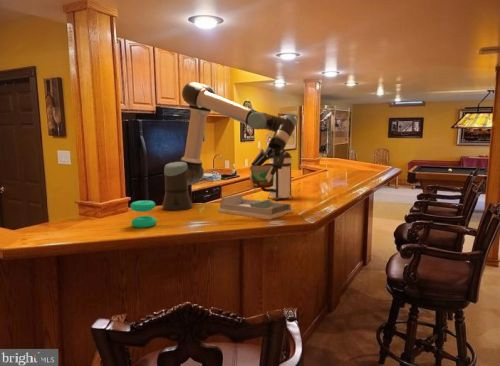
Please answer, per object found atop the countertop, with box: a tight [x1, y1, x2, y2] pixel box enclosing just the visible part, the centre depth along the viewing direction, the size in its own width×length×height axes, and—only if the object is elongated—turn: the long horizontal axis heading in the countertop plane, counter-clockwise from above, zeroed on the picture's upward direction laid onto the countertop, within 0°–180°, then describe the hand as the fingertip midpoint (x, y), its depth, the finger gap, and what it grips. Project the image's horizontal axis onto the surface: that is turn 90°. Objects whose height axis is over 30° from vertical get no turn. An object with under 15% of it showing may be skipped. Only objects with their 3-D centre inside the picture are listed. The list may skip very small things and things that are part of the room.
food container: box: [249, 165, 274, 189], centre depth 167 cm, size 12×6×10 cm, turn 111°
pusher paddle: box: [250, 198, 271, 208], centre depth 178 cm, size 6×14×4 cm, turn 142°
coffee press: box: [260, 151, 294, 202], centre depth 211 cm, size 17×16×30 cm
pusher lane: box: [217, 193, 294, 220], centre depth 178 cm, size 30×20×6 cm, turn 52°
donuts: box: [129, 199, 157, 229], centre depth 154 cm, size 10×10×10 cm
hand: (259, 179), depth 166 cm, fingers closed on food container, 8 cm apart
